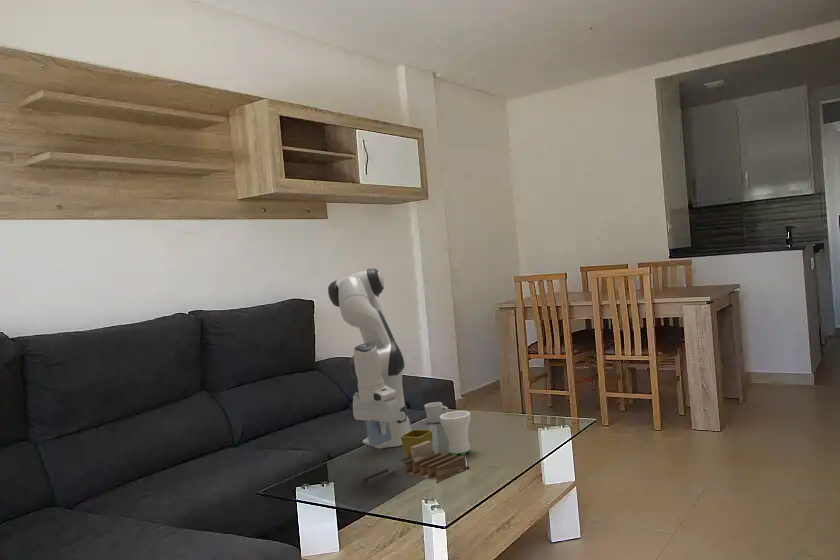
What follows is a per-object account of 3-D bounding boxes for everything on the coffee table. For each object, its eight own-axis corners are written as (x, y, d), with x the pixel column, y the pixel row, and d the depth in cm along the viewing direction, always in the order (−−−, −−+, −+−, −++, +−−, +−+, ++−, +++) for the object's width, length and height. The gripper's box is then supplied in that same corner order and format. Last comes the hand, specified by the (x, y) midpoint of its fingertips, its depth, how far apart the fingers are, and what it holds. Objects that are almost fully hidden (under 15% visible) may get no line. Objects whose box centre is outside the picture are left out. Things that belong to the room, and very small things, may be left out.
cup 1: (453, 419, 298) (450, 401, 297) (446, 424, 290) (444, 405, 290) (430, 419, 302) (428, 402, 302) (423, 424, 295) (421, 406, 295)
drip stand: (359, 485, 223) (358, 477, 223) (385, 475, 231) (383, 467, 231) (372, 489, 218) (371, 481, 218) (398, 478, 226) (397, 470, 225)
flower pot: (423, 461, 240) (420, 437, 240) (403, 460, 245) (399, 436, 245) (435, 454, 248) (432, 430, 248) (416, 453, 252) (412, 429, 252)
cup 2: (473, 456, 238) (468, 417, 238) (442, 459, 241) (437, 419, 240) (476, 447, 249) (472, 409, 249) (447, 449, 252) (442, 412, 251)
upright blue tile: (369, 446, 222) (365, 422, 222) (387, 438, 228) (383, 415, 227) (373, 446, 220) (369, 422, 220) (391, 439, 226) (387, 415, 226)
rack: (403, 475, 228) (399, 449, 228) (434, 461, 238) (431, 437, 238) (437, 482, 216) (434, 455, 216) (469, 468, 226) (466, 442, 226)
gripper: (345, 394, 229) (352, 434, 229) (385, 396, 214) (393, 438, 215) (359, 389, 233) (366, 428, 233) (400, 391, 219) (407, 432, 219)
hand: (379, 433), depth 224 cm, fingers closed on upright blue tile, 2 cm apart
